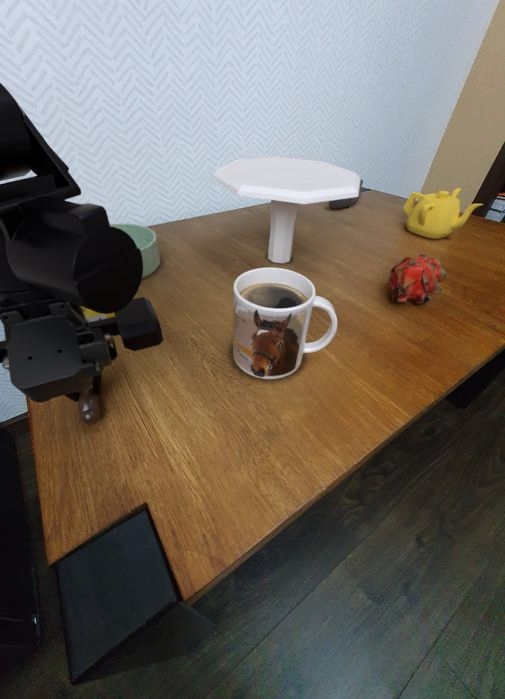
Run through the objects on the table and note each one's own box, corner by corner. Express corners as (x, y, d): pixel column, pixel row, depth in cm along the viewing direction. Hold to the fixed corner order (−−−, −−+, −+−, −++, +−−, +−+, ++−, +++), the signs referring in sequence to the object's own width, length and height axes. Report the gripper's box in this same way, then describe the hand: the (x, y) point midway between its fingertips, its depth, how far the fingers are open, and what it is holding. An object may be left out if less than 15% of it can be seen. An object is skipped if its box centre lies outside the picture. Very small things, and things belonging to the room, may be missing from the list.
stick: (84, 430, 34) (77, 420, 32) (79, 380, 39) (73, 369, 37) (103, 424, 34) (98, 413, 33) (96, 376, 39) (91, 365, 38)
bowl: (82, 292, 54) (71, 262, 50) (77, 255, 64) (67, 229, 60) (169, 276, 59) (164, 248, 55) (151, 245, 69) (147, 220, 65)
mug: (265, 322, 49) (271, 257, 42) (331, 358, 44) (351, 291, 36) (218, 355, 43) (215, 286, 36) (287, 401, 38) (300, 331, 30)
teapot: (464, 244, 77) (485, 202, 70) (409, 239, 77) (426, 197, 71) (443, 224, 87) (461, 185, 80) (395, 220, 88) (409, 182, 81)
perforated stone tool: (334, 213, 90) (339, 187, 85) (320, 208, 93) (324, 183, 88) (363, 204, 97) (369, 180, 93) (349, 200, 100) (354, 176, 96)
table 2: (366, 257, 69) (392, 173, 58) (298, 310, 52) (315, 207, 41) (267, 224, 81) (272, 150, 70) (186, 258, 65) (177, 169, 54)
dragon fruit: (424, 295, 61) (389, 324, 56) (400, 259, 61) (362, 286, 56) (466, 275, 53) (429, 308, 48) (438, 235, 53) (398, 263, 48)
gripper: (-176, 373, 17) (-19, 494, 27) (164, 301, 23) (186, 421, 34) (-109, 278, 24) (-5, 402, 35) (137, 243, 31) (161, 357, 41)
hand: (87, 395), depth 36 cm, fingers closed on stick, 2 cm apart
